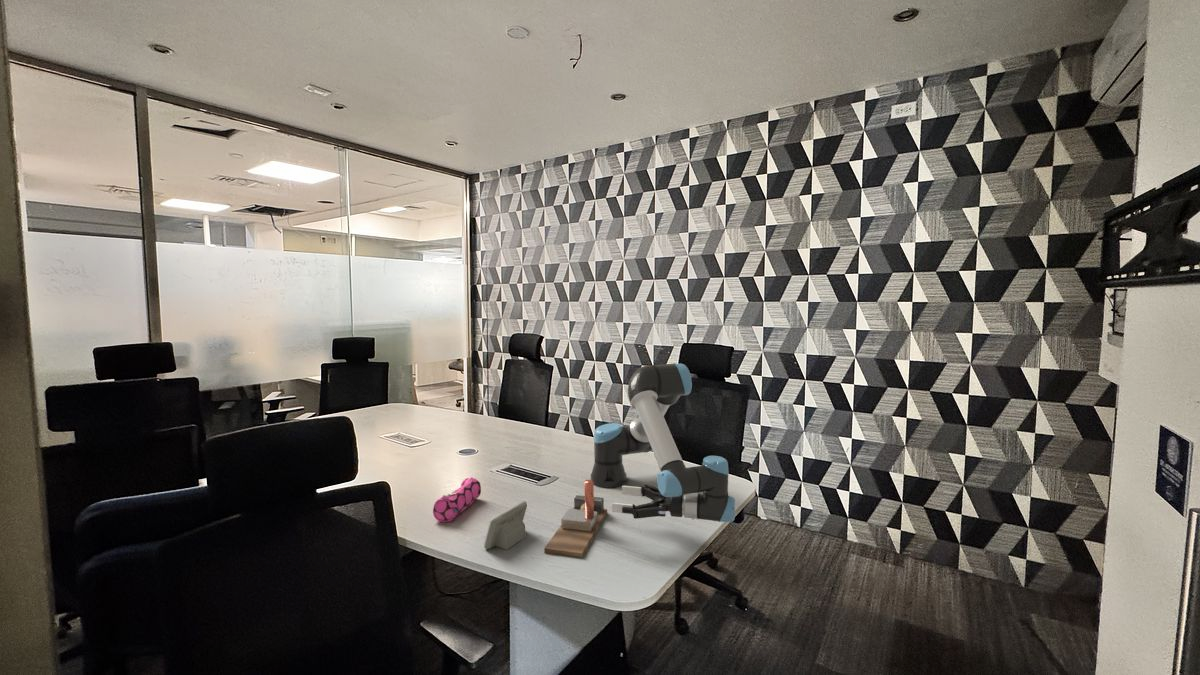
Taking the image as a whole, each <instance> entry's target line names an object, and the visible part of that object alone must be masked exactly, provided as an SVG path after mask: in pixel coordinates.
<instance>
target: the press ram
mask: <svg viewBox="0 0 1200 675" xmlns="http://www.w3.org/2000/svg"><path fill="white" fill-rule="evenodd" d="M583 483H584V496H585V510H577V509H573V508H568V510H567V511H566V512H565V513H564V514H563V516H562V517H561V520H560V523H561V524H560V526H561V528H565V529H573V530H582V531H590V532H591V530H592V529H593V527H594V525H595V523H596V522H597V512H596V511H594V497H595V495H594V494H595V493H594V492H595V490H594V486H595V485H594V482H593V480H591V479H586V480H584V482H583Z"/></svg>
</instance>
